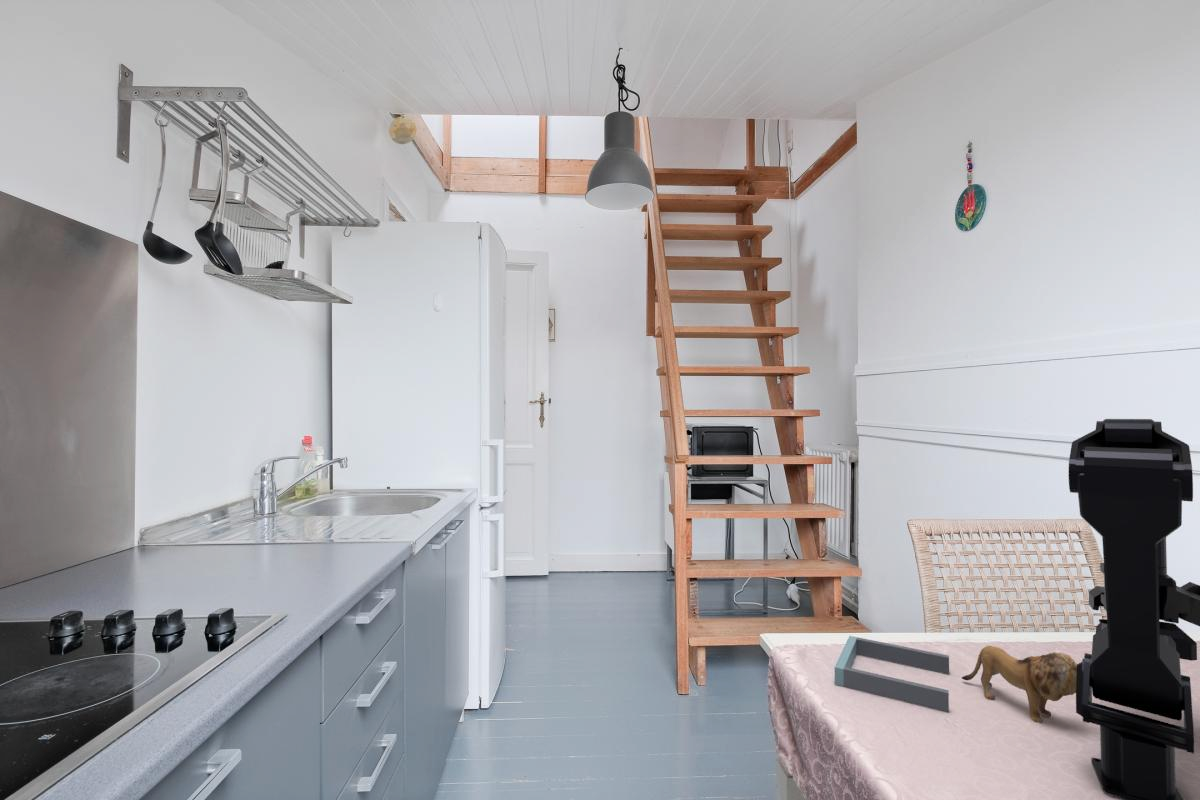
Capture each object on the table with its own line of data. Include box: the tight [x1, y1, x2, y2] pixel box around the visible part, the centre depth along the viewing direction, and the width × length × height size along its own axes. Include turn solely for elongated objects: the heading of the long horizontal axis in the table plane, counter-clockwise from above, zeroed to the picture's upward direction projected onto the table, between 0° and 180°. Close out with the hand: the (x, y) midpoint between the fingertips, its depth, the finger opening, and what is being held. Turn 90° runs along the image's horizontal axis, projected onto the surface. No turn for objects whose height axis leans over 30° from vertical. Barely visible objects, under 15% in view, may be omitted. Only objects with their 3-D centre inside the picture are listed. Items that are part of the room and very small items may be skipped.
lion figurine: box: [961, 645, 1078, 723], centre depth 76 cm, size 15×5×9 cm, turn 26°
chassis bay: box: [834, 635, 950, 713], centre depth 84 cm, size 14×14×2 cm
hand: (1137, 688), depth 69 cm, fingers closed
